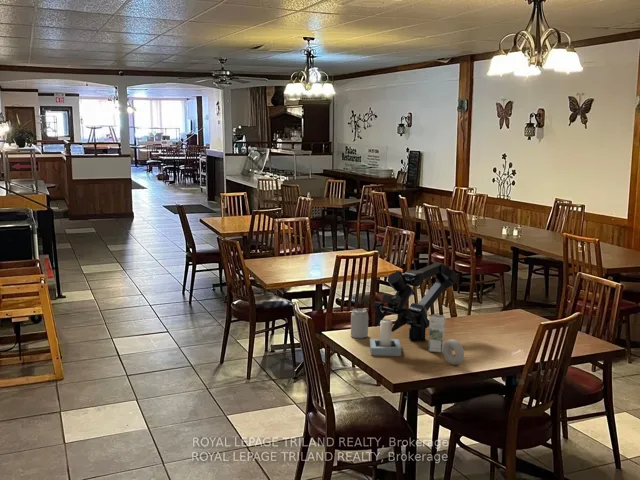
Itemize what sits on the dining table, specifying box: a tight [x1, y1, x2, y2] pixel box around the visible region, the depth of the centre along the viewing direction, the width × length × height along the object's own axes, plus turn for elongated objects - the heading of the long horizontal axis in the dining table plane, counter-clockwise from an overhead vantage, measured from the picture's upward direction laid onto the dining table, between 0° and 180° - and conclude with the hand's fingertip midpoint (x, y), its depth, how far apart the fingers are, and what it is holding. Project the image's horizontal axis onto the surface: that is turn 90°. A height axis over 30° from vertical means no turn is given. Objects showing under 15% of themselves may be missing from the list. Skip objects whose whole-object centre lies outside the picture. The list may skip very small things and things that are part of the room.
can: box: [350, 308, 369, 340], centre depth 277 cm, size 8×8×12 cm
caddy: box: [369, 338, 402, 357], centre depth 259 cm, size 12×12×3 cm
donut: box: [442, 338, 465, 366], centre depth 243 cm, size 10×4×10 cm, turn 33°
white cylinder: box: [379, 319, 393, 347], centre depth 258 cm, size 5×5×12 cm
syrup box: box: [428, 314, 446, 354], centre depth 259 cm, size 6×6×14 cm
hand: (383, 328), depth 257 cm, fingers open, 9 cm apart
